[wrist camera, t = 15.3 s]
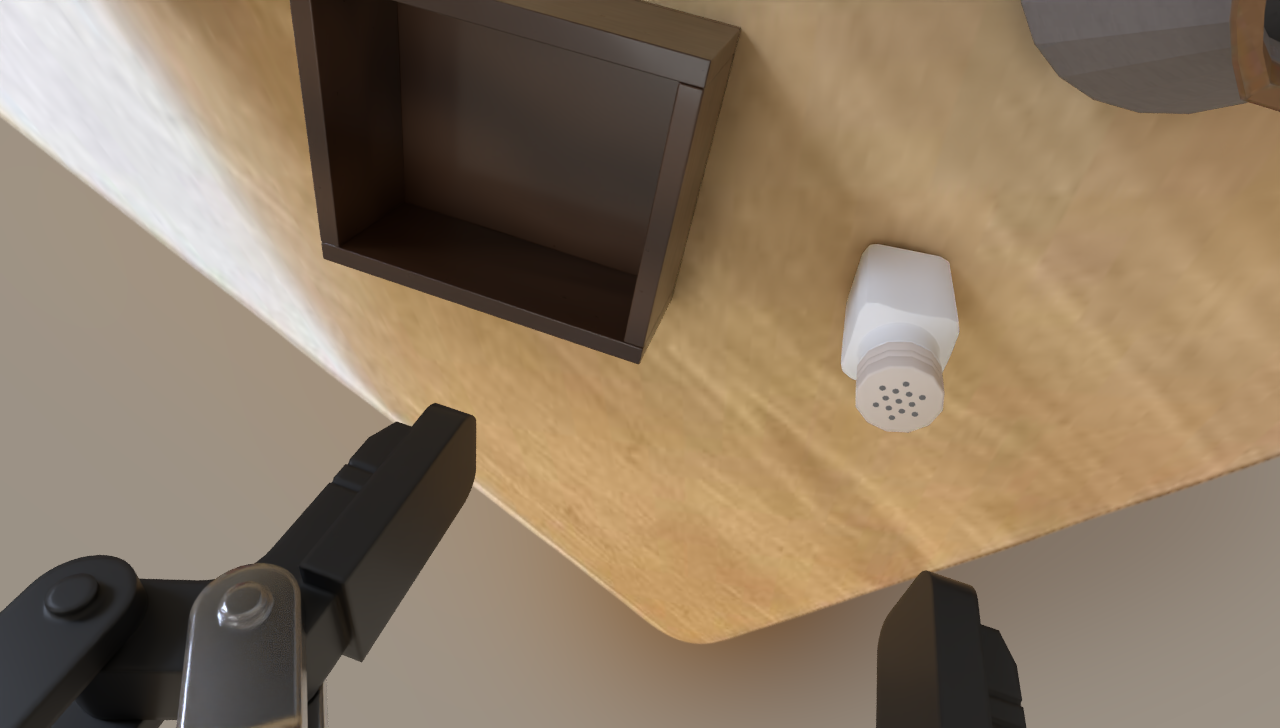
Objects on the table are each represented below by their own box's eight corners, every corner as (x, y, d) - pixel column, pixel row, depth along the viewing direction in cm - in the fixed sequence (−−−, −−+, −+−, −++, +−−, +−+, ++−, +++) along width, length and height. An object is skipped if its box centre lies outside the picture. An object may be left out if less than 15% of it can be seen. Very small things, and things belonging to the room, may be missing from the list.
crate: (378, -71, 30) (280, -60, 25) (741, 27, 28) (711, 60, 24) (393, 210, 39) (322, 259, 34) (671, 300, 37) (639, 365, 32)
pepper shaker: (866, 236, 32) (860, 346, 25) (953, 253, 31) (974, 372, 24) (843, 307, 34) (831, 426, 27) (924, 324, 34) (934, 452, 26)
